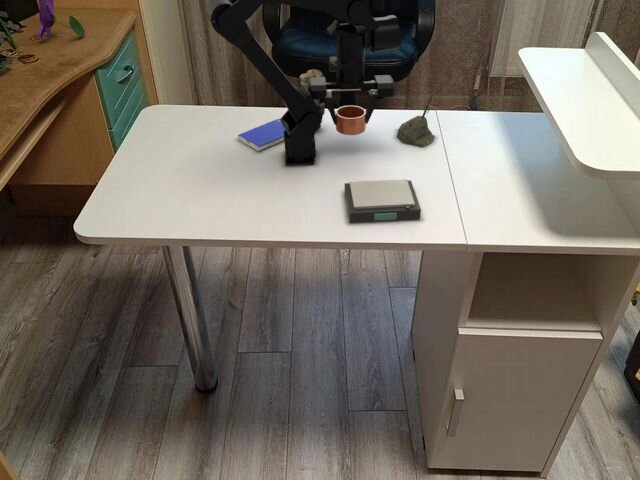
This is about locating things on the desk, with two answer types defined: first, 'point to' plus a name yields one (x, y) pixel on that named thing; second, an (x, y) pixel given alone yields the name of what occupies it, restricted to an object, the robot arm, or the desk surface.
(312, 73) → the light bulb
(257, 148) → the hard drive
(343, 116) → the bowl
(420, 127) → the sword in stone
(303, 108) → the robot arm
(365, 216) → the scale
